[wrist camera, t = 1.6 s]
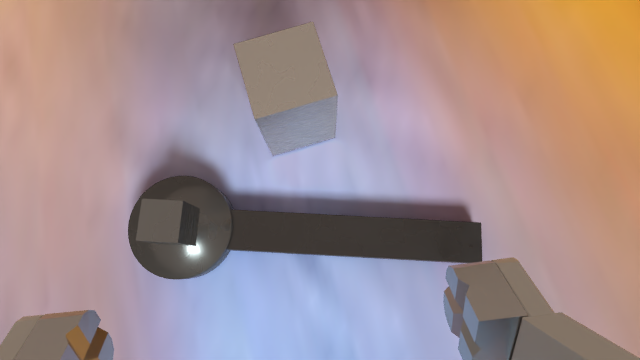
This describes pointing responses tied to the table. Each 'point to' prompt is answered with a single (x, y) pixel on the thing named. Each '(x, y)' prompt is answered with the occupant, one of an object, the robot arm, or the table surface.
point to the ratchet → (276, 232)
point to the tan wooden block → (289, 88)
